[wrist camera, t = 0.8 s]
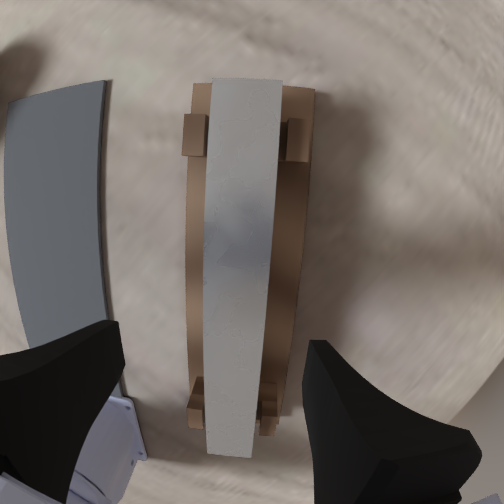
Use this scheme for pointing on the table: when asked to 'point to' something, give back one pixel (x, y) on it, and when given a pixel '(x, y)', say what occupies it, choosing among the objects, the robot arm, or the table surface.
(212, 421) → the steel rail
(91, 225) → the rubber mat
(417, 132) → the table surface
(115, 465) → the robot arm
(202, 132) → the walnut standards
